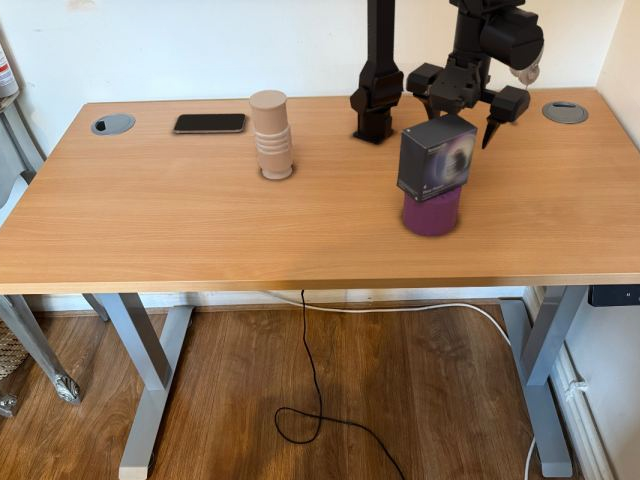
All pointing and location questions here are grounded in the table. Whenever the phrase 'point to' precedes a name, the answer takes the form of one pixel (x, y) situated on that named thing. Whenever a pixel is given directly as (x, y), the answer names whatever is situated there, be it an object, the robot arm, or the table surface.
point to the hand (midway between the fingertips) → (458, 139)
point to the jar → (432, 213)
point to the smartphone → (209, 123)
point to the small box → (435, 156)
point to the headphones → (528, 72)
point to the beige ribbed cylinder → (272, 133)
